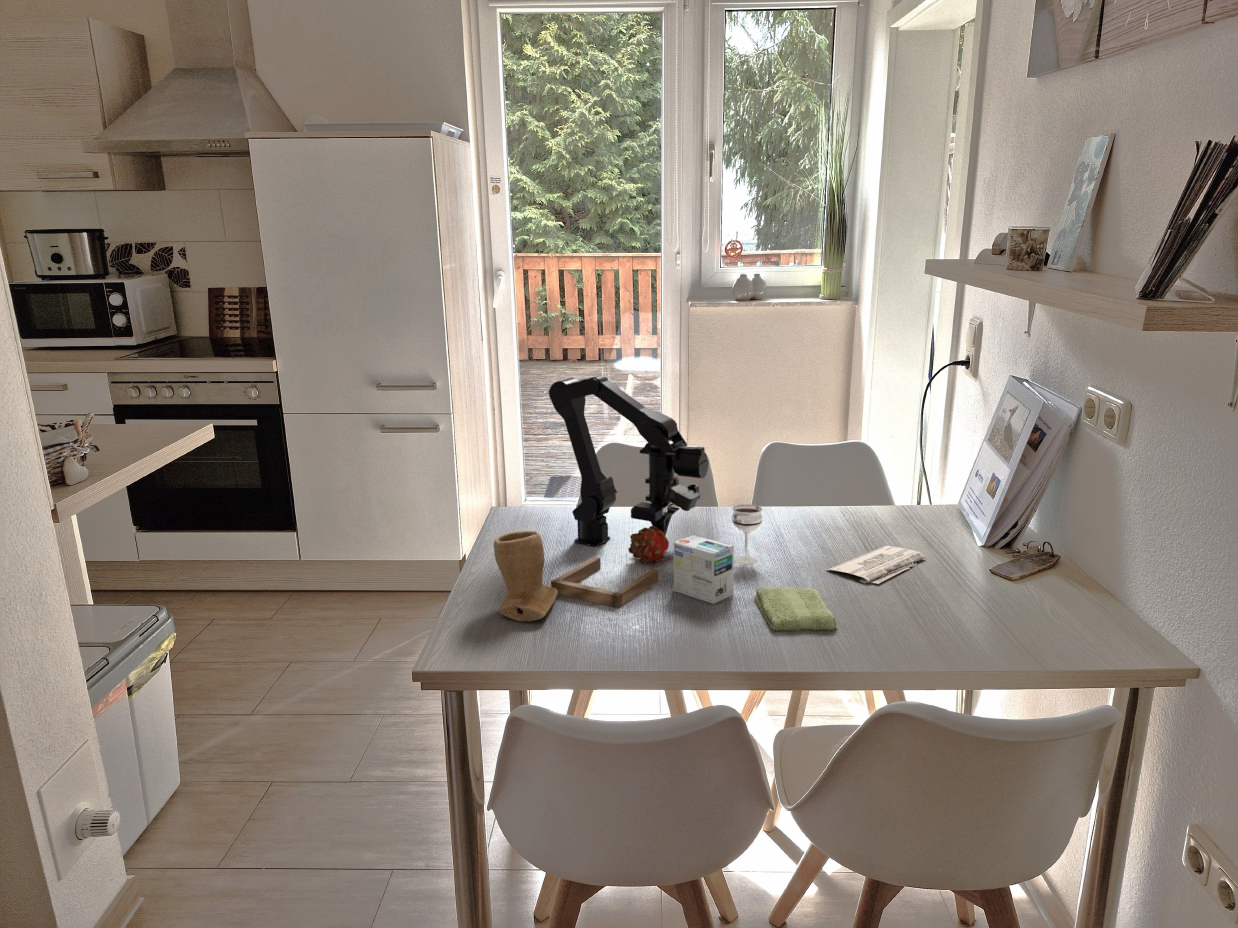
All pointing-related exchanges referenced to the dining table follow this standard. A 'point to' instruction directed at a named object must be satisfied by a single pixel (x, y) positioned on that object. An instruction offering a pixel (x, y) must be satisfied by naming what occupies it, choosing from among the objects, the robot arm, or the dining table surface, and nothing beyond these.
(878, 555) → the newspaper
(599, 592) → the frame
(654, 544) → the dragon fruit
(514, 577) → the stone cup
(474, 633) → the dining table surface
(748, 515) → the wineglass
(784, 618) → the washcloth
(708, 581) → the light bulb box
